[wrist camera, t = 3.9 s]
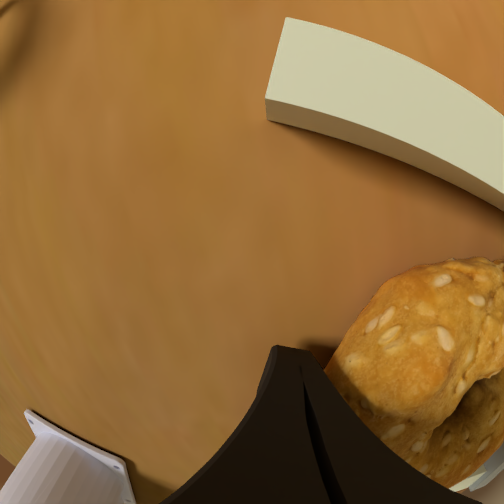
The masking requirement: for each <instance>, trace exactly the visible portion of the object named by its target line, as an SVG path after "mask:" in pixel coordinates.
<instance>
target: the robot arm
mask: <svg viewBox="0 0 504 504" xmlns="http://www.w3.org/2000/svg"><path fill="white" fill-rule="evenodd" d="M24 414H25V417H26V419H27V421H28V423H29V425H30V427H31V429H32V430H33V432H34V434H35V436H36V439H35V441H34V442H33V444H32V445H31V446H30V448H29V449H28V451H27V452H26V453H25V455H24V456H23V458H22V459H21V461H20V462H19V464H18V465H17V467H16V468H15V470H14V471H13V473H12V474H11V476H10V477H9V479H8V480H7V482H6V483H5V485H4V486H3V488H2V490H1V491H0V504H124V503H125V504H136V501H135V498H134V494H133V491H132V487H131V484H130V480H129V476H128V472H127V468H126V464H125V462H124V461H123V460H122V459H121V458H119V457H116V456H114V455H112V454H109V453H107V452H105V451H103V450H100V449H98V448H96V447H94V446H92V445H90V444H88V443H86V442H84V441H82V440H80V439H78V438H76V437H74V436H72V435H70V434H68V433H66V432H65V431H63V430H61V429H59V428H57V427H56V426H54V425H52V424H51V423H49V422H47V421H46V420H44V419H42V418H41V417H39V416H38V415H36V414H35V413H33V412H32V411H30V410H27V409H26V411H25V412H24ZM159 504H482V503H481V502H479V501H476V500H473V499H471V498H468V497H466V496H464V495H461V494H459V493H457V492H454V491H452V490H450V489H448V488H446V487H444V486H442V485H441V484H439V483H437V482H435V481H434V480H432V479H430V478H429V477H427V476H425V475H424V474H422V473H421V472H419V471H418V470H416V469H415V468H414V467H412V466H411V465H410V464H408V463H407V462H406V461H404V460H403V459H402V458H401V457H399V456H398V455H397V454H396V453H394V452H393V451H392V450H391V449H390V448H389V447H387V446H386V445H385V444H384V443H383V442H382V441H381V440H380V439H379V438H378V437H377V436H376V435H375V434H374V433H373V432H372V431H371V430H370V429H369V428H368V427H367V426H366V425H365V424H364V423H363V421H362V420H361V419H360V418H359V417H358V416H357V415H356V413H355V412H354V411H353V410H352V409H351V407H350V406H349V405H348V404H347V402H346V401H345V400H344V399H343V397H342V396H341V395H340V393H339V392H338V391H337V389H336V388H335V386H334V385H333V384H332V382H331V381H330V379H329V378H328V377H327V375H326V374H325V372H324V371H323V369H322V368H321V366H320V365H319V363H318V362H317V360H316V359H315V357H314V356H313V355H312V353H311V352H310V351H307V350H301V349H296V348H290V347H285V346H280V345H275V346H273V347H272V348H271V351H270V354H269V357H268V360H267V363H266V366H265V369H264V372H263V374H262V377H261V380H260V383H259V386H258V389H257V395H256V398H255V400H254V402H253V403H252V405H251V407H250V409H249V410H248V412H247V413H246V415H245V416H244V418H243V419H242V421H241V422H240V424H239V425H238V426H237V428H236V429H235V430H234V432H233V433H232V434H231V436H230V437H229V438H228V439H227V441H226V442H225V443H224V444H223V445H222V447H221V448H220V449H219V450H218V451H217V452H216V453H215V455H214V456H213V457H212V458H211V459H210V460H209V461H208V462H207V463H206V464H205V465H204V466H203V467H202V468H201V469H200V470H199V471H198V472H197V473H196V474H195V475H194V476H192V477H191V478H190V479H189V480H188V481H187V482H186V483H185V484H184V485H183V486H181V487H180V488H179V489H178V490H177V491H175V492H174V493H173V494H171V495H170V496H169V497H168V498H166V499H165V500H163V501H162V502H161V503H159Z"/></svg>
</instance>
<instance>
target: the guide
mask: <svg viewBox="0 0 504 504" xmlns="http://www.w3.org/2000/svg"><path fill="white" fill-rule="evenodd" d="M265 105H266V116H267V120H270V121H275V122H279V123H283V124H287V125H291V126H295V127H299V128H303V129H307V130H310V131H314V132H317V133H321V134H324V135H328V136H331V137H334V138H338V139H341V140H344V141H347V142H350V143H353V144H356V145H359V146H362V147H365V148H368V149H371V150H373V151H376V152H379V153H382V154H384V155H387V156H389V157H392V158H395V159H397V160H400V161H402V162H405V163H407V164H410V165H412V166H414V167H417V168H419V169H421V170H424V171H426V172H428V173H430V174H433V175H435V176H437V177H439V178H441V179H443V180H445V181H448V182H450V183H452V184H454V185H456V186H458V187H460V188H462V189H464V190H466V191H468V192H470V193H471V194H473V195H475V196H477V197H479V198H481V199H483V200H484V201H486V202H488V203H490V204H491V205H493V206H495V207H497V208H498V209H500V210H502V211H503V212H504V116H503V115H502V114H500V113H499V112H498V111H496V110H495V109H494V108H492V107H491V106H490V105H488V104H487V103H486V102H484V101H483V100H481V99H480V98H478V97H477V96H476V95H474V94H473V93H471V92H469V91H468V90H466V89H465V88H463V87H462V86H460V85H459V84H457V83H455V82H454V81H452V80H450V79H449V78H447V77H445V76H443V75H442V74H440V73H438V72H436V71H434V70H433V69H431V68H429V67H427V66H425V65H423V64H421V63H419V62H417V61H415V60H413V59H411V58H409V57H407V56H404V55H402V54H400V53H398V52H396V51H393V50H391V49H389V48H386V47H384V46H381V45H379V44H376V43H374V42H371V41H368V40H366V39H363V38H360V37H357V36H355V35H352V34H349V33H345V32H342V31H339V30H336V29H332V28H329V27H325V26H322V25H318V24H314V23H310V22H306V21H302V20H298V19H293V18H288V17H286V19H285V23H284V27H283V30H282V34H281V38H280V41H279V45H278V49H277V53H276V57H275V60H274V64H273V68H272V72H271V76H270V80H269V84H268V88H267V92H266V96H265ZM503 469H504V441H503V443H502V445H501V446H500V448H499V449H498V450H496V451H495V452H494V453H493V454H492V456H491V457H490V458H489V459H488V460H487V461H486V462H485V463H484V464H483V465H481V466H480V467H479V468H478V469H477V470H476V471H475V472H474V473H473V474H472V475H471V476H469V477H468V478H466V479H465V480H463V481H461V482H459V483H458V484H456V485H454V486H453V487H451V488H449V489H450V490H452V491H454V492H456V491H459V490H462V489H465V488H467V487H469V489H470V491H473V490H476V489H478V488H481V487H483V486H485V485H487V484H488V483H489V482H490V481H491V480H492V479H493V478H494V477H496V476H497V475H498V474H499V473H500V472H501V471H502V470H503Z"/></svg>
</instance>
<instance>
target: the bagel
mask: <svg viewBox="0 0 504 504" xmlns="http://www.w3.org/2000/svg"><path fill="white" fill-rule="evenodd" d="M323 371H324V372H325V374H326V375H327V377H328V378H329V379H330V381H331V382H332V384H333V385H334V386H335V388H336V389H337V391H338V392H339V393H340V395H341V396H342V397H343V399H344V400H345V401H346V402H347V404H348V405H349V406H350V407H351V409H352V410H353V411H354V412H355V413H356V415H357V416H358V417H359V418H360V419H361V420H362V421H363V423H364V424H365V425H366V426H367V427H368V428H369V429H370V430H371V431H372V432H373V433H374V434H375V435H376V436H377V437H378V438H379V439H380V440H381V441H382V442H383V443H384V444H385V445H386V446H387V447H389V448H390V449H391V450H392V451H393V452H394V453H396V454H397V455H398V456H399V457H401V458H402V459H403V460H404V461H406V462H407V463H408V464H410V465H411V466H412V467H414V468H415V469H416V470H418V471H419V472H421V473H422V474H424V475H425V476H427V477H429V478H430V479H432V480H434V481H435V482H437V483H439V484H441V485H442V486H444V487H446V488H448V489H449V488H451V487H453V486H454V485H456V484H458V483H459V482H461V481H463V480H465V479H466V478H468V477H469V476H471V475H472V474H473V473H474V472H475V471H476V470H477V469H478V468H479V467H480V466H481V465H483V464H484V463H485V462H486V461H487V460H488V459H489V458H490V457H491V456H492V454H493V453H494V452H495V451H496V450H498V449H499V448H500V446H501V445H502V443H503V441H504V259H503V260H496V261H493V262H491V261H490V260H488V259H487V258H485V257H471V258H468V259H458V260H455V259H454V258H450V259H448V260H446V261H444V262H440V263H435V264H431V265H430V264H426V265H418V266H415V267H413V268H411V269H409V270H408V271H406V272H404V273H402V274H399V275H397V276H395V277H393V278H391V279H389V280H388V281H386V282H385V283H384V284H382V285H381V286H380V288H379V289H378V290H377V293H376V294H375V295H374V296H373V297H372V299H371V301H370V303H369V304H368V305H367V306H366V307H365V308H364V309H363V310H362V312H361V313H360V314H359V315H358V317H357V320H356V321H355V322H354V323H353V324H352V325H351V327H350V328H349V329H348V331H347V333H346V334H345V336H344V338H343V340H342V342H341V343H340V345H339V347H338V348H337V349H336V351H335V352H334V354H333V356H332V358H331V359H330V361H329V363H328V364H327V366H326V367H325V369H324V370H323Z"/></svg>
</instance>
